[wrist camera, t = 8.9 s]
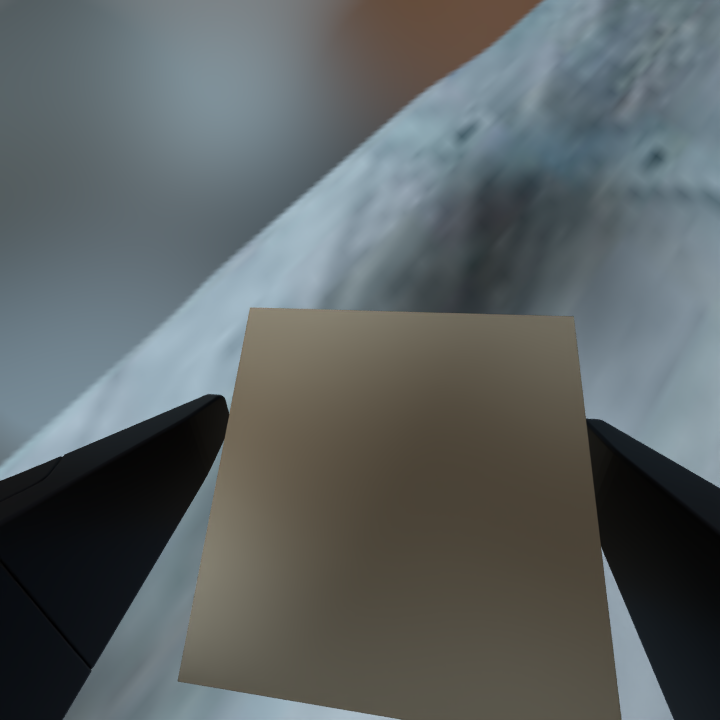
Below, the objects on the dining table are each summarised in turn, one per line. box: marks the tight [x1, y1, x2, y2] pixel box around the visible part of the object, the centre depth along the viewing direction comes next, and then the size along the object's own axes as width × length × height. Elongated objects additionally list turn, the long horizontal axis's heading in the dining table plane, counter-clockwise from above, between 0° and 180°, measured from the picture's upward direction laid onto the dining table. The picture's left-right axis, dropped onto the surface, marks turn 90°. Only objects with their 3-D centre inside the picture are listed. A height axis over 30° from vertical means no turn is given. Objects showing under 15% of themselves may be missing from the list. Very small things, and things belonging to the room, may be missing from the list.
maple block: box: [178, 308, 621, 720], centre depth 11 cm, size 5×5×13 cm
